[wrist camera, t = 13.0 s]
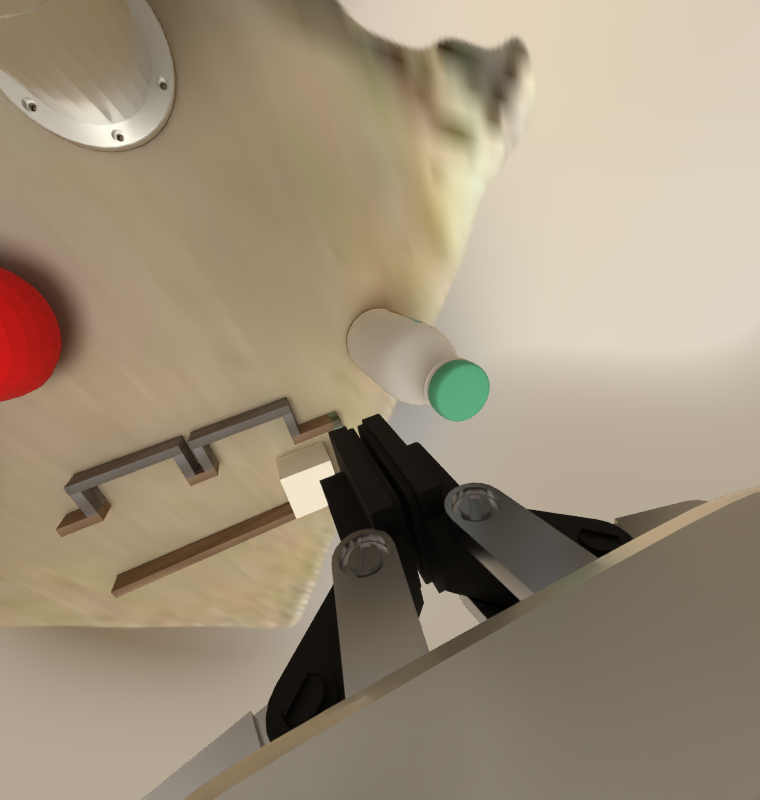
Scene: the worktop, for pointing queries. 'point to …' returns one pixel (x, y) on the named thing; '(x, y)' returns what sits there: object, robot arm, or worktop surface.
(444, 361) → the milk bottle
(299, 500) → the block
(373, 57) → the worktop surface
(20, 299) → the tomato
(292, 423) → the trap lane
